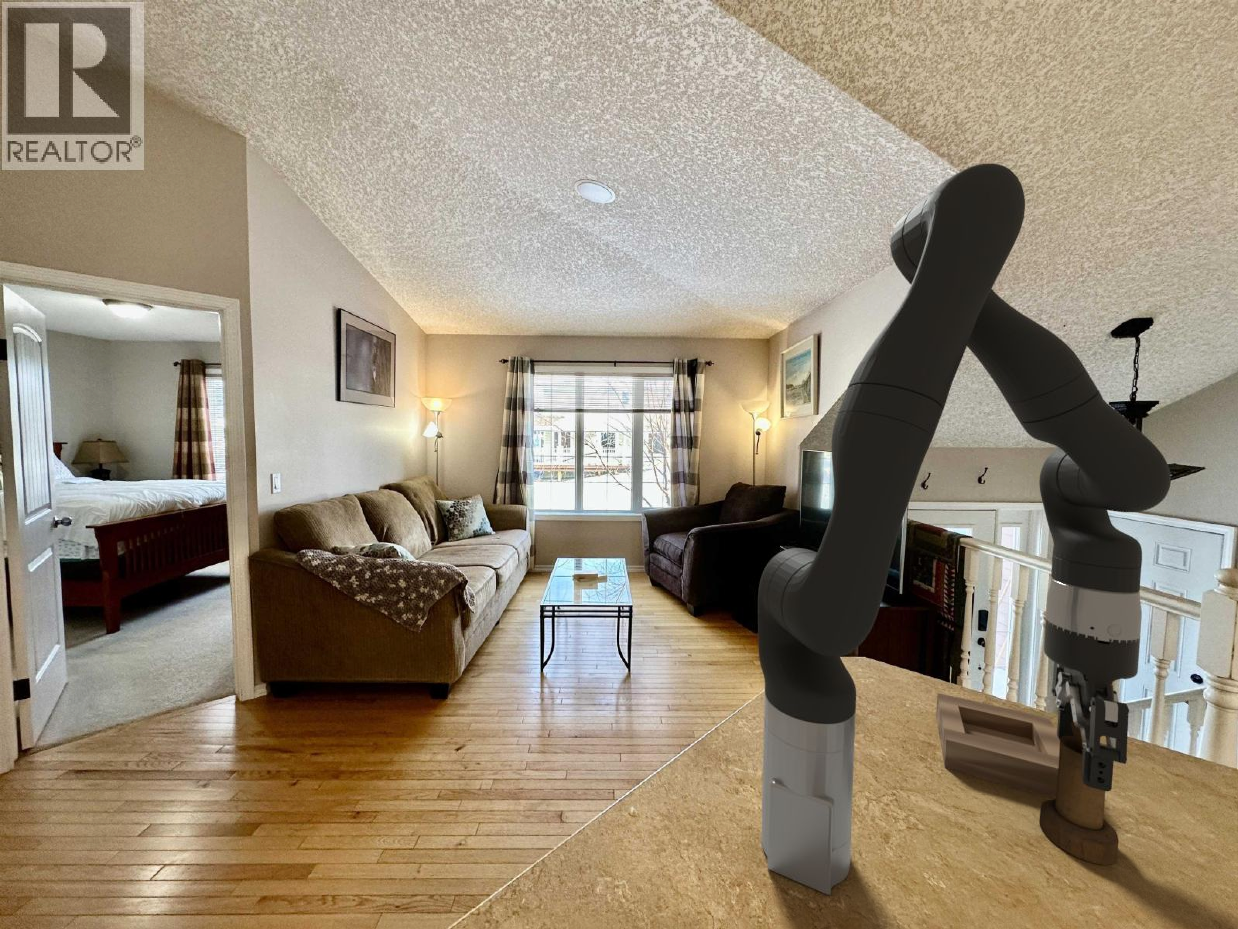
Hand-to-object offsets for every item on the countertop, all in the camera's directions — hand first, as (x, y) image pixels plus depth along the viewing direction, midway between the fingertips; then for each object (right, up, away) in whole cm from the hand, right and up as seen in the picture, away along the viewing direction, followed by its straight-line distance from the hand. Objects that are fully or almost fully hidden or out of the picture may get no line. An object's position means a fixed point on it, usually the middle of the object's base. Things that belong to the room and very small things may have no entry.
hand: (1081, 763), depth 55 cm
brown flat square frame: (+2, -9, +15) cm, 18 cm away
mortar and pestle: (0, -9, 0) cm, 9 cm away
